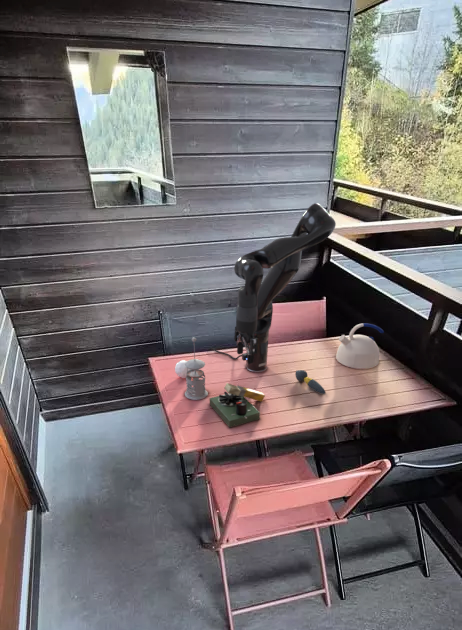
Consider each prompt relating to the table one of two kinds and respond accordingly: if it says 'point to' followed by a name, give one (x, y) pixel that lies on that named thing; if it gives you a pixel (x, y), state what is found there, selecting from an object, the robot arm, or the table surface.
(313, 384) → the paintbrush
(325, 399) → the table surface
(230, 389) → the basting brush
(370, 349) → the kettle
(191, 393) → the french press
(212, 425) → the table surface
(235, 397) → the burner
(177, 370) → the ball
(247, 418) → the stove
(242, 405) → the stove knob
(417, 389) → the table surface
